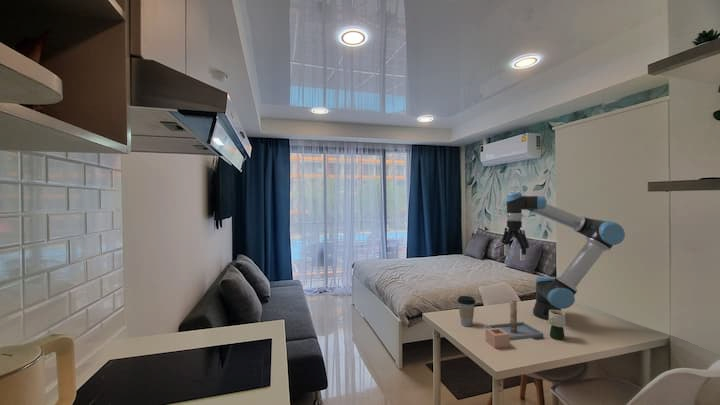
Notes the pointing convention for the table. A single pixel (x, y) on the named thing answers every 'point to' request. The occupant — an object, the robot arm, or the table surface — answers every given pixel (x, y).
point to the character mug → (557, 323)
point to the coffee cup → (466, 310)
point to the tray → (519, 331)
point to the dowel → (513, 316)
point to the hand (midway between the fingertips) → (514, 257)
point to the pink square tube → (497, 338)
